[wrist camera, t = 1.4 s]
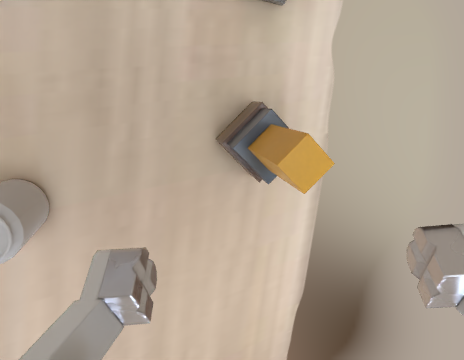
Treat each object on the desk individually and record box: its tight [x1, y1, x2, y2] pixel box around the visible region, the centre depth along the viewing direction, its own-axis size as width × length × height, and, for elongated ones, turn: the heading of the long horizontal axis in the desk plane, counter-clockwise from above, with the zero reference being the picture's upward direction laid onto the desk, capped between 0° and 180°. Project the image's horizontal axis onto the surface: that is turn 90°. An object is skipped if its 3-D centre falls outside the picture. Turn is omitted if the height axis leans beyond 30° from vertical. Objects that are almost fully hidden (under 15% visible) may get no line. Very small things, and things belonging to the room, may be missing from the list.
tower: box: [216, 102, 289, 184], centre depth 47 cm, size 8×8×9 cm
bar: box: [248, 124, 334, 194], centre depth 38 cm, size 4×4×11 cm
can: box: [0, 179, 49, 264], centre depth 42 cm, size 8×8×12 cm
